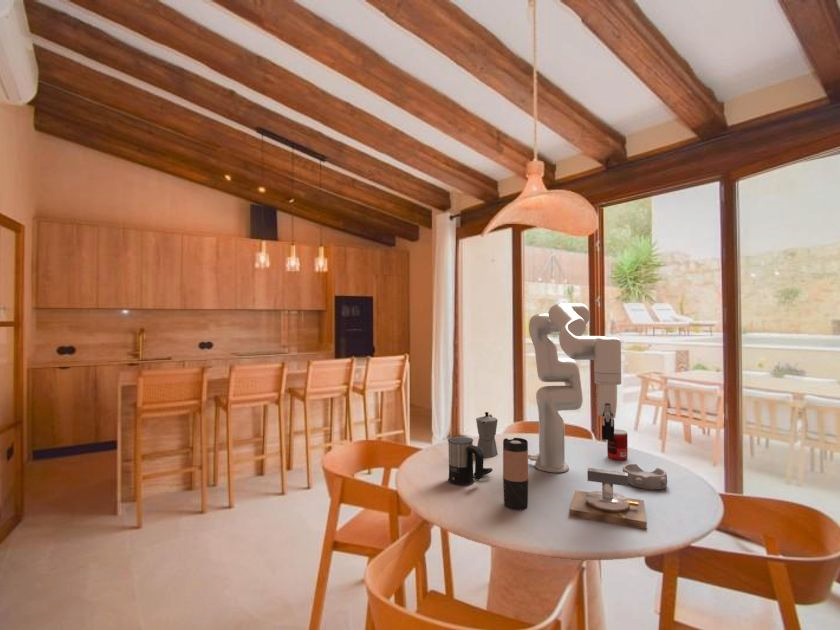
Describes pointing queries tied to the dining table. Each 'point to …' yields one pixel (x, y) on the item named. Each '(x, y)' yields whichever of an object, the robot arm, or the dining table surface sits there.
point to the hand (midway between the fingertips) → (608, 435)
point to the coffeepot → (487, 435)
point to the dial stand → (627, 518)
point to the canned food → (618, 446)
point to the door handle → (608, 491)
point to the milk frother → (465, 461)
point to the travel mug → (515, 473)
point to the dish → (645, 477)
